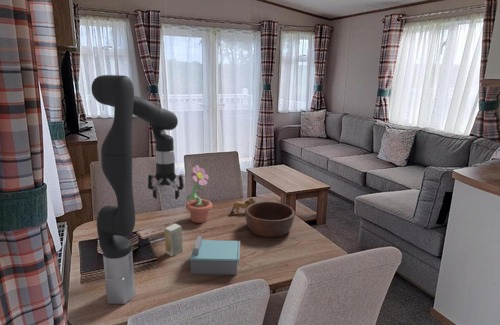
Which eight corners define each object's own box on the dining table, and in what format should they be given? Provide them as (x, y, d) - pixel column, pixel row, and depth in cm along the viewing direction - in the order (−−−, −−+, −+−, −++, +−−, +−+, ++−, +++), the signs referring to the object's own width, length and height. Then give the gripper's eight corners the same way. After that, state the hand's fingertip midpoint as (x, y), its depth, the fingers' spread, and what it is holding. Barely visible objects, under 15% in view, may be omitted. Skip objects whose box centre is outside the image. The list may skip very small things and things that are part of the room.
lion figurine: (254, 210, 195) (254, 195, 193) (256, 213, 190) (257, 198, 188) (229, 211, 192) (229, 197, 190) (230, 215, 187) (231, 200, 185)
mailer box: (236, 274, 133) (236, 261, 131) (190, 273, 133) (190, 260, 131) (237, 256, 146) (238, 243, 145) (196, 255, 146) (196, 242, 144)
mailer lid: (239, 264, 131) (239, 252, 130) (190, 263, 131) (190, 251, 130) (240, 246, 145) (240, 234, 144) (196, 245, 145) (195, 233, 144)
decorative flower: (199, 229, 170) (198, 172, 162) (179, 222, 177) (177, 167, 169) (217, 218, 183) (217, 165, 175) (197, 212, 189) (197, 161, 182)
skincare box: (176, 247, 152) (175, 222, 148) (183, 251, 149) (182, 225, 146) (164, 253, 147) (163, 227, 144) (171, 257, 144) (170, 230, 141)
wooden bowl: (296, 222, 181) (298, 204, 178) (289, 244, 158) (290, 224, 155) (251, 216, 187) (252, 198, 185) (238, 236, 164) (238, 216, 161)
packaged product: (167, 220, 168) (176, 228, 161) (168, 229, 170) (176, 237, 162) (131, 229, 158) (138, 238, 150) (132, 239, 159) (139, 248, 152)
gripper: (145, 162, 134) (146, 201, 138) (181, 163, 135) (181, 201, 139) (150, 158, 142) (151, 195, 146) (184, 159, 142) (184, 195, 146)
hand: (166, 198), depth 142 cm, fingers open, 8 cm apart
